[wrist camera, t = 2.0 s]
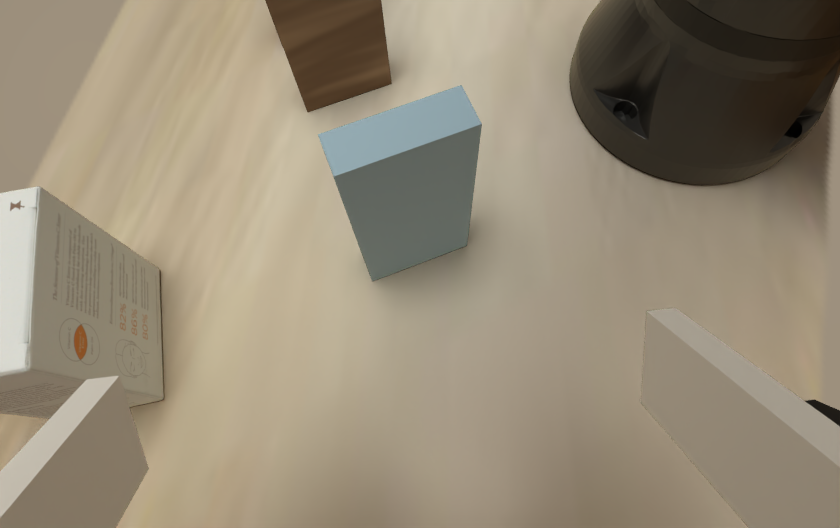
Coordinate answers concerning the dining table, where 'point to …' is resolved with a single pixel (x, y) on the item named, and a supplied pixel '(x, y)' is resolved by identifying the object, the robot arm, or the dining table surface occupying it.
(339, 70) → the domino
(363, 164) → the blue domino
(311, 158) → the dining table surface
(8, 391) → the small box
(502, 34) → the dining table surface
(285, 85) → the dining table surface
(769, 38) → the robot arm
